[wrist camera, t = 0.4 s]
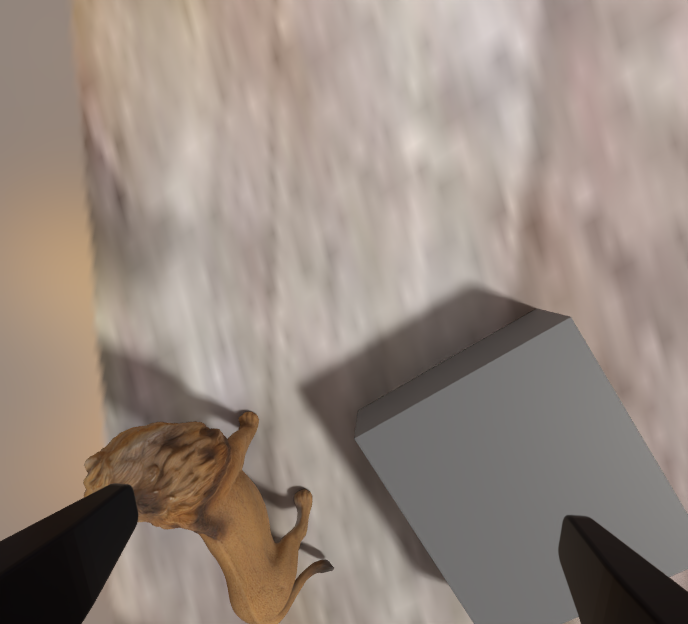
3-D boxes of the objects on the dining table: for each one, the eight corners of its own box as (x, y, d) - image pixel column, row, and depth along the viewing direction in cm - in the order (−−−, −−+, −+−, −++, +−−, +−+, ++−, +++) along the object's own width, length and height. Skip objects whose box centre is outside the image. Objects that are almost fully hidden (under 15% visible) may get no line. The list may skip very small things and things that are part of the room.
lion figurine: (159, 413, 23) (24, 503, 14) (218, 363, 22) (114, 426, 14) (305, 581, 24) (262, 769, 15) (367, 538, 23) (361, 709, 14)
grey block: (473, 587, 23) (493, 653, 19) (358, 408, 22) (354, 438, 18) (651, 504, 21) (713, 557, 18) (533, 307, 21) (571, 317, 17)
